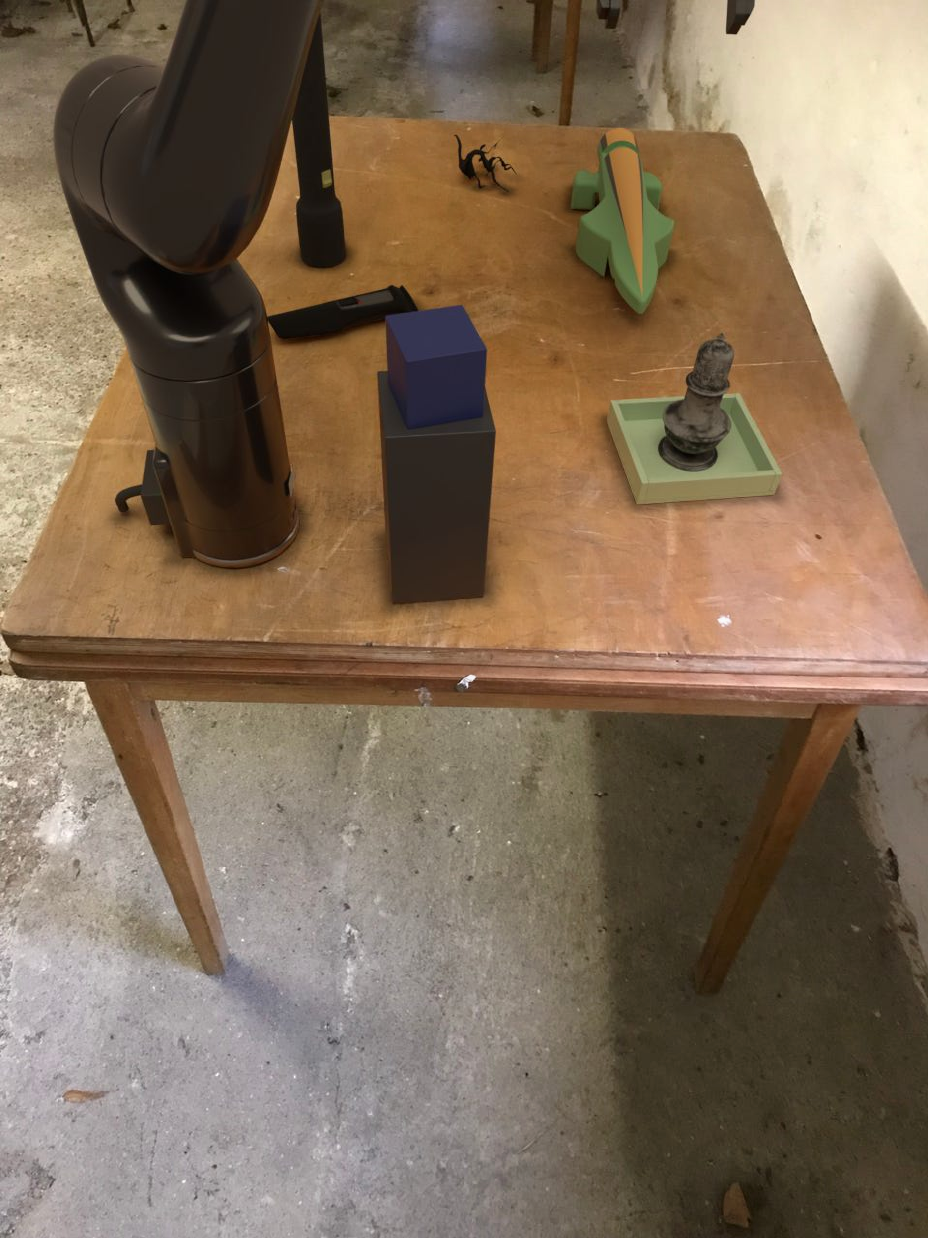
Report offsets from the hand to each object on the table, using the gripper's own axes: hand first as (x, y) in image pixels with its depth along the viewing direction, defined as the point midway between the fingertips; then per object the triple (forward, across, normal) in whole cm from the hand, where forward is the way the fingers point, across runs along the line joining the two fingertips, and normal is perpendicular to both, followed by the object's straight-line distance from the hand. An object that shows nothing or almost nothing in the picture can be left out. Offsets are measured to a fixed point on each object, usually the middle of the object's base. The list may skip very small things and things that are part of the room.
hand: (674, 25), depth 62 cm
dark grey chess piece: (+28, +6, +15) cm, 32 cm away
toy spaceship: (+4, +4, +40) cm, 40 cm away
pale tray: (+28, +6, +15) cm, 33 cm away
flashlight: (+5, -29, +38) cm, 49 cm away
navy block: (+27, -16, -6) cm, 32 cm away
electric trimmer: (+15, -25, +29) cm, 41 cm away
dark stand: (+38, -16, +5) cm, 41 cm away
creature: (-9, -11, +52) cm, 54 cm away
